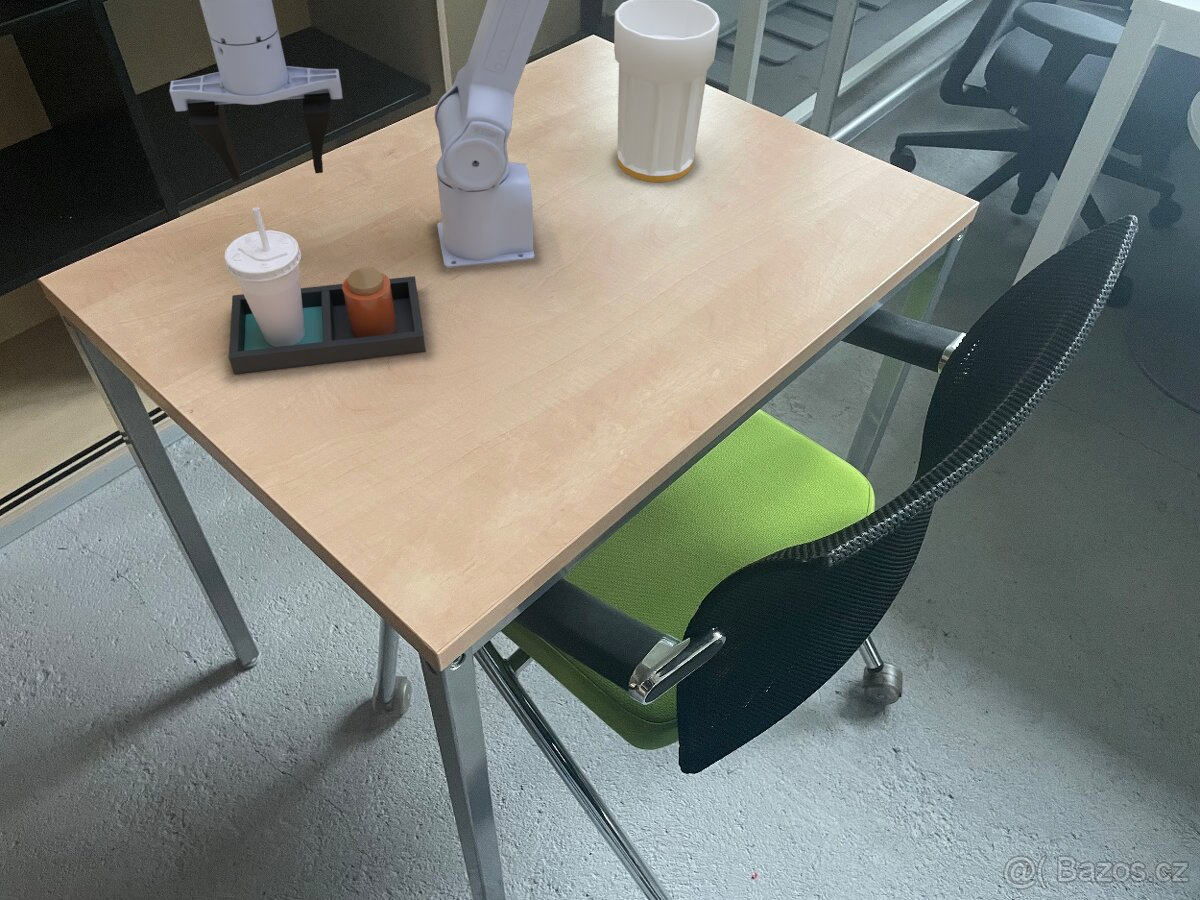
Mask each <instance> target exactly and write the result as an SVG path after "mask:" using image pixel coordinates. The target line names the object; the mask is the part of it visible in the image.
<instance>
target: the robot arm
mask: <svg viewBox="0 0 1200 900" xmlns="http://www.w3.org/2000/svg"><path fill="white" fill-rule="evenodd" d="M199 4H200V8H201V11H202V15H203V18H204V22H205V26H206V29H207V33H208V36H209V40H210V44H211V48H212V51H213V55H214V59H215V62H216V66H217V69H218V71H217V72H213V73H207V74H203V75H198V76H194V77H190V78H184V79H177V80H176V79H175V80H171V81H170V84H169V95H170V98H171V101H172V104H173V107H174V111H175V112H187V111H188V112H189V113H188V114H189V124H190V126H191V127H192V129H193V130H194V132H196V133H197V134H198V135H199V137H201V138H202V139H203V140H204V141H205V142H206V143H207V144H208V145H209V147H211V149H212V150H213V152H215V153H216V155H217V156H218V157H219V159H220V161H221V163H222V164H223V165H224V167H225V169H226V170H227V172H228V175H229V176H230V178H231V180H232V181H234V182H236V181H241V165H240V161H239V158H238V154H237V152H236V151H237V150H236V148H235V145H234V143H233V139H232V136H231V134H230V129H229V126H228V121H227V118H226V112H225V107H224V105H233V104H234V105H235V104H238V105H247V106H248V105H249V106H250V105H251V106H252V105H253V106H254V105H255V106H256V105H263V104H269V103H273V102H277V101H284V100H285V101H287V100H297V99H298V100H299V99H302V110H303V112H302V113H303V118H304V122H305V126H306V130H307V134H308V137H309V142H310V146H311V153H312V154H311V156H312V163H313V168H314V173H315V174H322V173H324V169H323V168H324V167H323V166H324V165H323V149H324V143H325V137H326V134H327V130H328V126H329V124H330V122H331V118H332V112H333V109H332V108H333V107H332V100H342V99H343V98H344V97H343V88H342V82H341V77H340V71H339V69H338V68H328V69H327V68H313V67H300V66H289V65H287V64H286V59H285V55H284V49H283V44H282V40H281V36H280V31H279V26H278V23H277V18H276V14H275V9H274V5H273V0H199ZM549 4H550V0H487V1H486V4H485V7H484V11H483V13H482V16H481V19H480V22H479V24H478V28H477V30H476V31H477V32H476V34H475V36H474V37H475V38H474V41H473V44H472V46H471V50H470V53H469V54H468V55H469V56H468V59H467V62H466V64H465V65H464V66H463V67H461V68H460V69H459V70H458V71H457V73H456V76H455V80H454V82H453V84H452V85H451V87H450V89H449V90H447V91H446V92H445V93H444V94H443V95H442V96H441V97H440V98H439V100H438V102H437V104H436V105H435V106H436V107H435V109H434V110H435V111H434V122H435V125H436V128H437V131H438V138H439V144H440V150H441V156H440V158H439V159H438V161H437V163H436V168H435V169H436V176H437V186H438V195H439V196H438V197H439V205H440V213H441V214H440V216H441V221H439V222H438V223H437V224H436V227H437V231H438V238H439V245H440V250H441V254H442V260H443V266H444V267H445V268H447V269H451V268H453V269H454V268H462V267H470V266H471V267H472V266H481V265H490V264H499V263H508V262H509V263H510V262H518V261H519V262H521V261H529V260H533V259H535V252H534V251H535V250H534V215H533V213H534V211H533V210H534V209H533V208H534V207H533V194H532V184H531V179H530V173H529V170H528V166H527V165H526V163H523V162H512V161H509V156H508V155H509V154H508V148H507V146H508V145H507V144H508V140H509V137H510V134H511V131H512V127H513V126H512V125H513V117H514V115H513V114H514V104H515V103H514V102H515V94H516V91H517V89H518V87H519V84H520V81H521V78H522V76H523V73H524V71H525V67H526V65H527V62H528V60H529V57H530V54H531V51H532V48H533V46H534V44H535V41H536V39H537V36H538V34H539V33H538V32H539V30H540V28H541V26H542V22H543V20H544V16H545V14H546V12H547V8H548V6H549Z"/></svg>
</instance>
